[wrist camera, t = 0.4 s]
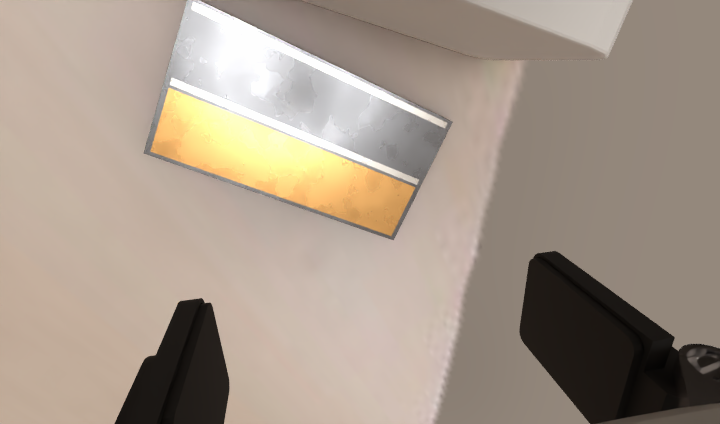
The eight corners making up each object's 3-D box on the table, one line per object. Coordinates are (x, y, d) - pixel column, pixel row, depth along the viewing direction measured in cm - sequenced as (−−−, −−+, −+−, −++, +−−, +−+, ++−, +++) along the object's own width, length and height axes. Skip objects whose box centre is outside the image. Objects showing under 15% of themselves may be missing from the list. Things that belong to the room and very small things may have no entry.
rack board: (191, -3, 33) (188, -5, 31) (448, 120, 41) (453, 122, 39) (147, 150, 36) (143, 153, 35) (390, 235, 44) (393, 240, 43)
